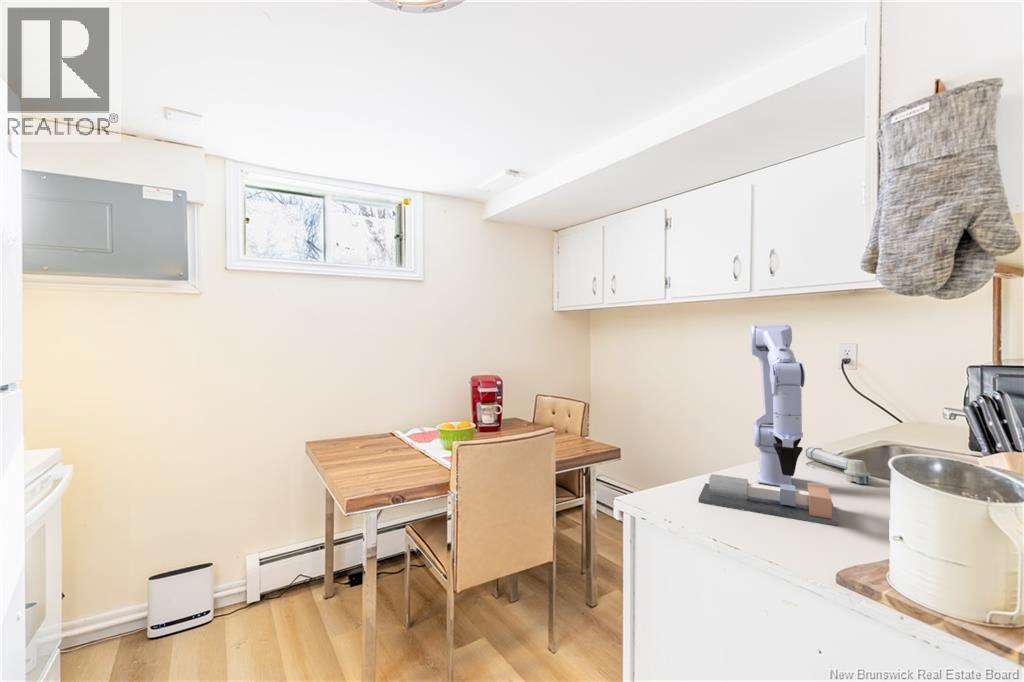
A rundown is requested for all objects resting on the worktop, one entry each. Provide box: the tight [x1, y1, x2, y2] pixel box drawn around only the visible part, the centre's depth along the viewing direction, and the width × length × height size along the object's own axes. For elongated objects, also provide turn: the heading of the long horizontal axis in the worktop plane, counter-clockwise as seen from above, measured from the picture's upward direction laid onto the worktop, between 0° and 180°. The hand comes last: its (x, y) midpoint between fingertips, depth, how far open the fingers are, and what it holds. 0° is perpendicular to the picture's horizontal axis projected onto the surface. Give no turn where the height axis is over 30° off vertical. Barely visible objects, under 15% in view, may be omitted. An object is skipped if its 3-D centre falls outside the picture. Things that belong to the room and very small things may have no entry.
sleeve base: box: [698, 473, 839, 527], centre depth 107 cm, size 12×28×5 cm, turn 58°
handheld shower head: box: [805, 447, 871, 485], centre depth 129 cm, size 5×7×25 cm
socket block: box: [806, 482, 833, 519], centre depth 101 cm, size 10×4×4 cm, turn 148°
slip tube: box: [747, 482, 809, 506], centre depth 105 cm, size 4×16×4 cm, turn 58°
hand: (787, 470), depth 104 cm, fingers open, 7 cm apart
